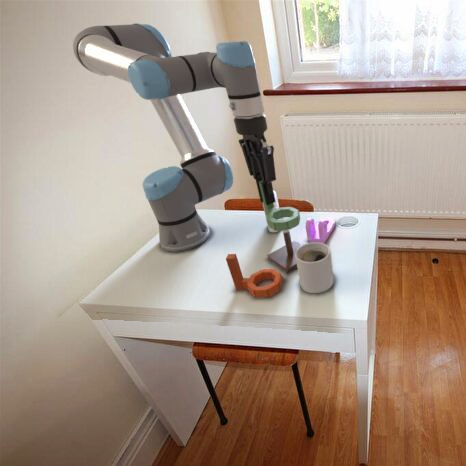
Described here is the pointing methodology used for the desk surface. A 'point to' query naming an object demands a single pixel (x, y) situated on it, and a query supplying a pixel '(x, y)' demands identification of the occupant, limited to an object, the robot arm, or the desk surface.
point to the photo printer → (274, 207)
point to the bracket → (319, 229)
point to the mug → (314, 267)
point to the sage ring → (280, 215)
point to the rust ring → (254, 279)
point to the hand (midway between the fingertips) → (268, 201)
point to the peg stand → (285, 254)
